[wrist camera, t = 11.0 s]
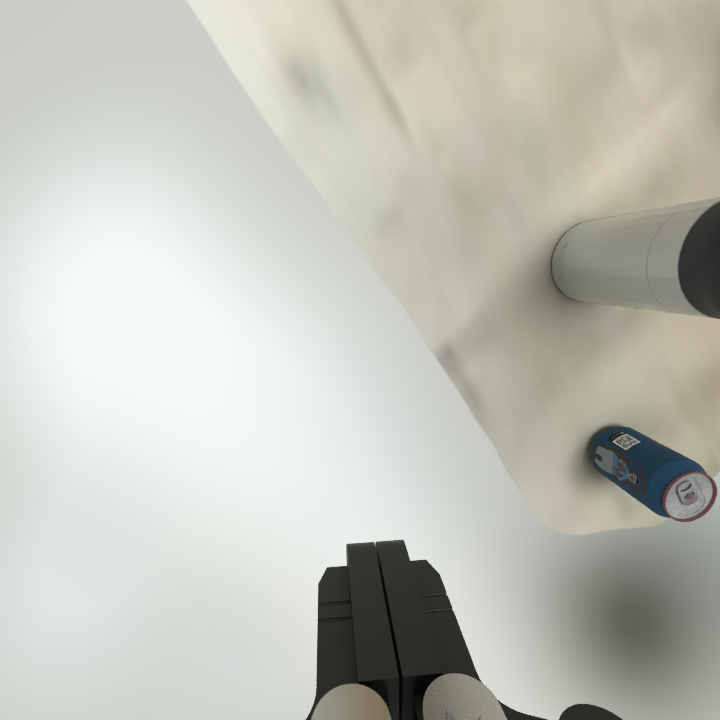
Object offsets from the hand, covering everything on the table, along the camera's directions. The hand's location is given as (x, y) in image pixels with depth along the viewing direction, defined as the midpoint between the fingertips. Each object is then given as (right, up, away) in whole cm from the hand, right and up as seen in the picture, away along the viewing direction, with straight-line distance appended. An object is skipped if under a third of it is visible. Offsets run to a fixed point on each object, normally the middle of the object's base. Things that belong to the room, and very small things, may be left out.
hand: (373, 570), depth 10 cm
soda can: (+33, -6, +43) cm, 54 cm away
